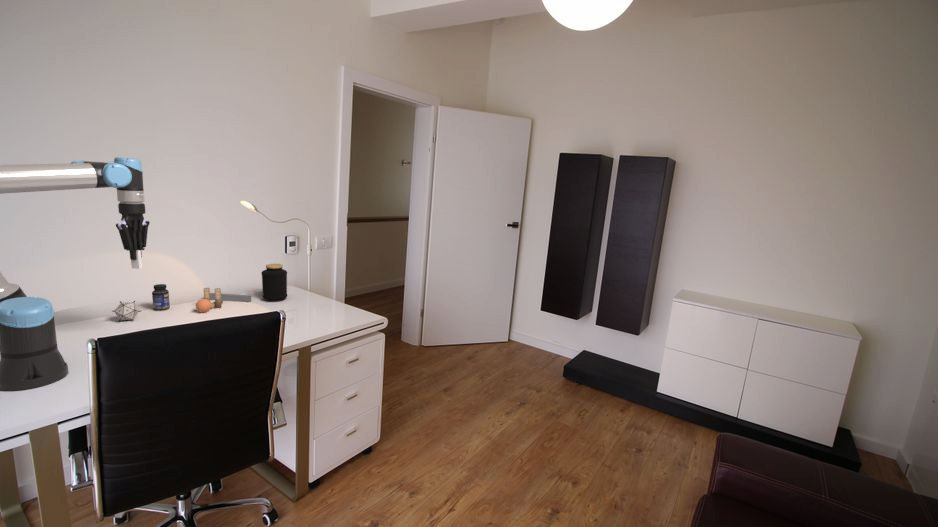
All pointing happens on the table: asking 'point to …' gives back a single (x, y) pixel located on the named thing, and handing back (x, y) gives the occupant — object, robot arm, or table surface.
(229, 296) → the back wall
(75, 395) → the table surface
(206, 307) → the ball
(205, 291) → the pin
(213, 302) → the pin front
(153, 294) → the pill bottle
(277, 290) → the container
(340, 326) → the table surface
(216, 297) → the pin
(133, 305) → the game die
